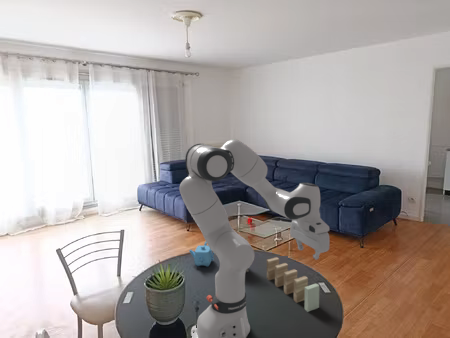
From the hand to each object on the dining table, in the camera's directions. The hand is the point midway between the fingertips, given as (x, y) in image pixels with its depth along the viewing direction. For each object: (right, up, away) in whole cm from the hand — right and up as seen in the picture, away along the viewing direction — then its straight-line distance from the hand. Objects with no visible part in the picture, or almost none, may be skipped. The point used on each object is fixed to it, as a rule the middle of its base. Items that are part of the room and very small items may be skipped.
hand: (308, 254), depth 126 cm
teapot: (-47, -18, +44) cm, 67 cm away
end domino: (+2, -23, +2) cm, 23 cm away
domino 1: (-10, -19, +26) cm, 34 cm away
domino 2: (-7, -20, +20) cm, 29 cm away
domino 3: (-4, -21, +14) cm, 26 cm away
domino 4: (-1, -22, +8) cm, 23 cm away
